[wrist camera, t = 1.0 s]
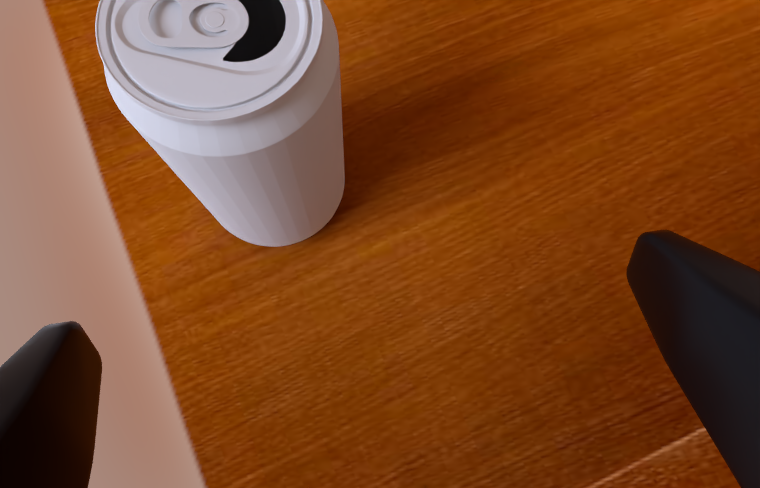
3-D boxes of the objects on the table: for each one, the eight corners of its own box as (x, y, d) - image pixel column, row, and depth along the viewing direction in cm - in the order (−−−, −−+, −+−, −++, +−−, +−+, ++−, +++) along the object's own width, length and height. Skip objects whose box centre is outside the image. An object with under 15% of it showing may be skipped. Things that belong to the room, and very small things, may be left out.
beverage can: (348, 246, 24) (346, 126, 12) (208, 255, 23) (67, 138, 12) (341, 122, 25) (332, -90, 14) (209, 127, 25) (85, -87, 13)
